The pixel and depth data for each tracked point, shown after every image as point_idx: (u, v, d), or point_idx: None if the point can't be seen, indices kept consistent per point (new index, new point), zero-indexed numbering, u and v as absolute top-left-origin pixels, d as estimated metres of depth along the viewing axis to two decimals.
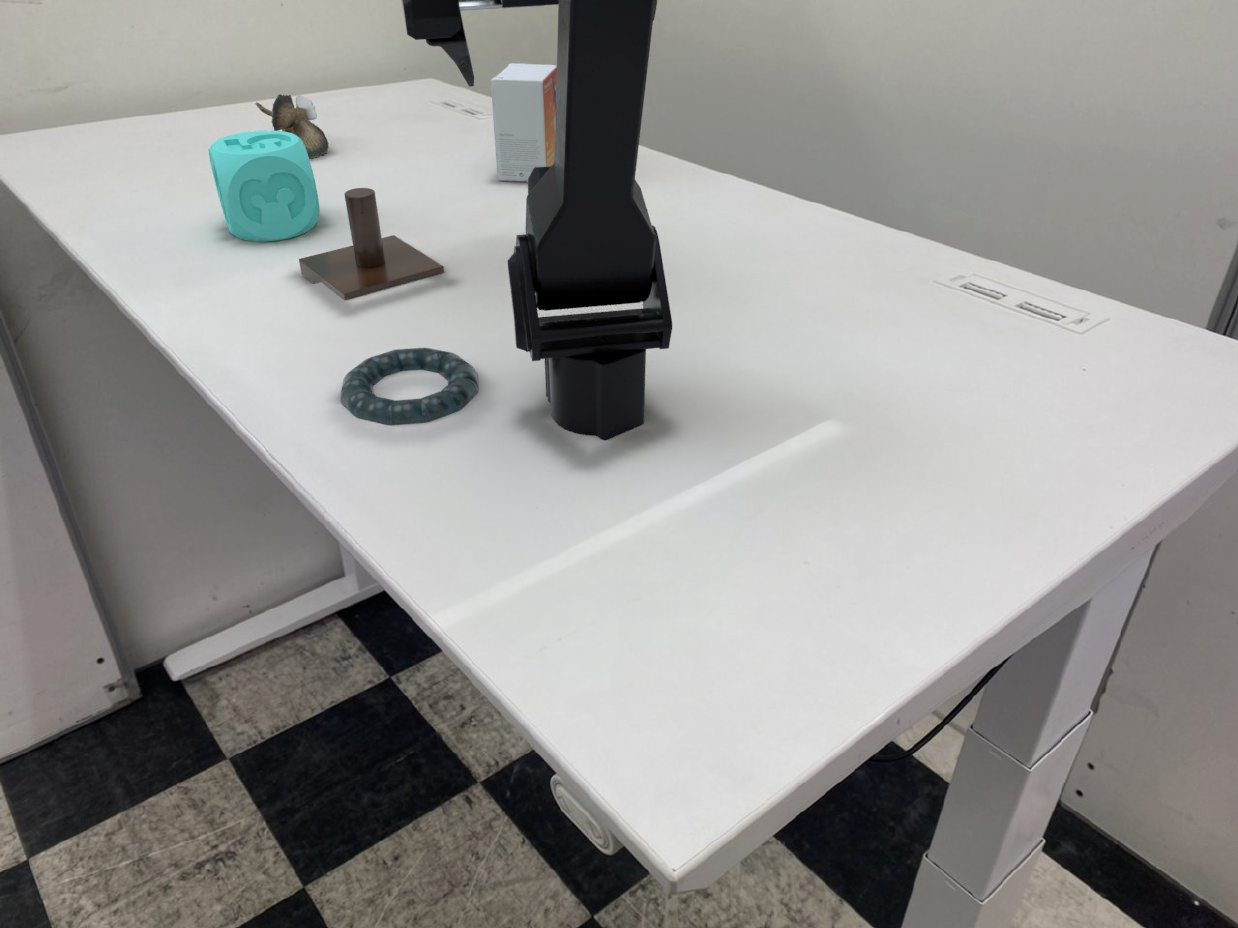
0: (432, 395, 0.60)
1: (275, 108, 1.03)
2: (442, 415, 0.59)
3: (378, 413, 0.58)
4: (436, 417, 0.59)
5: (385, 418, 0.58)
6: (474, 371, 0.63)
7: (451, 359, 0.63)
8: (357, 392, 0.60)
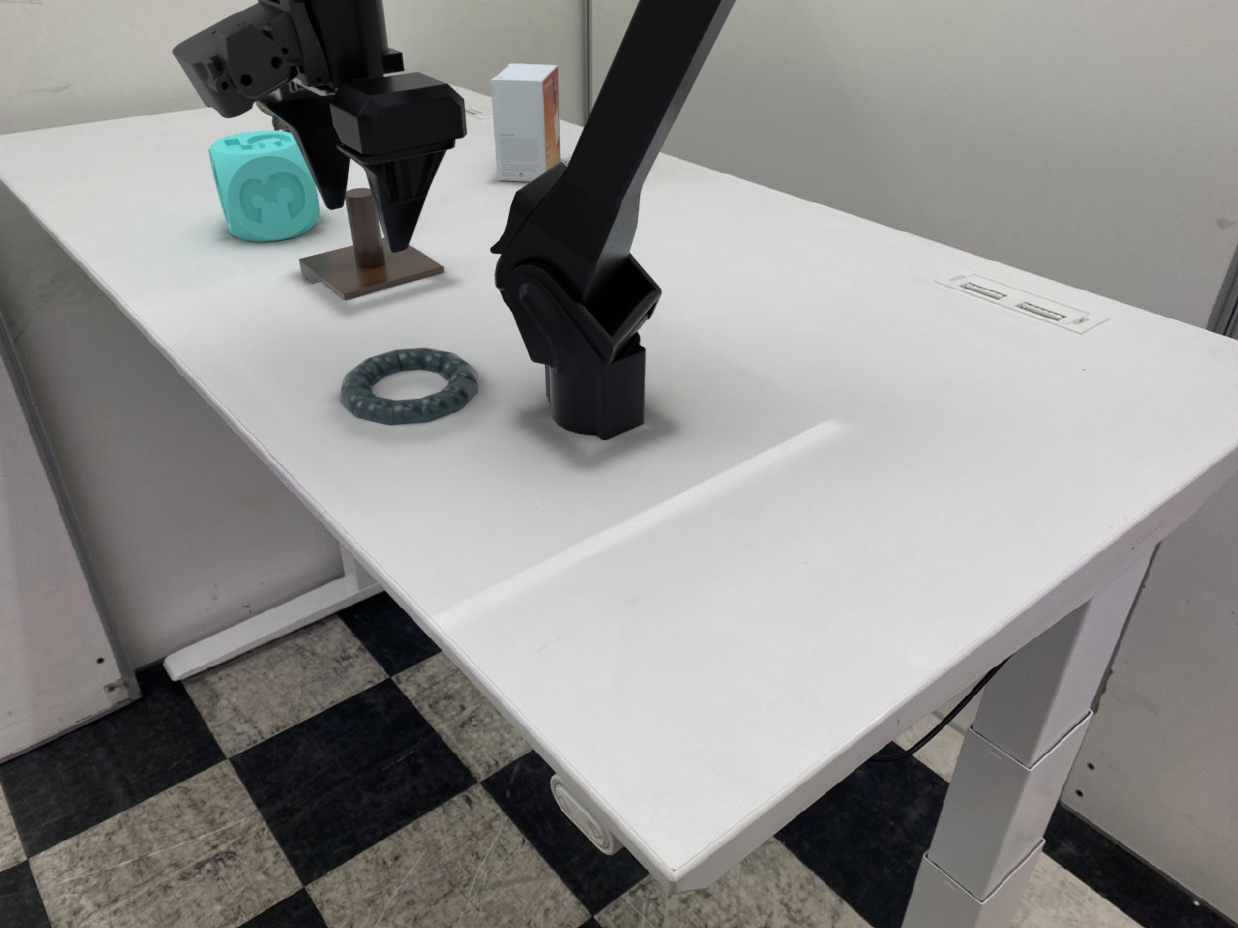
0: (432, 395, 0.60)
1: None
2: (442, 415, 0.59)
3: (378, 413, 0.58)
4: (436, 417, 0.59)
5: (385, 418, 0.58)
6: (474, 371, 0.63)
7: (451, 359, 0.63)
8: (357, 392, 0.60)
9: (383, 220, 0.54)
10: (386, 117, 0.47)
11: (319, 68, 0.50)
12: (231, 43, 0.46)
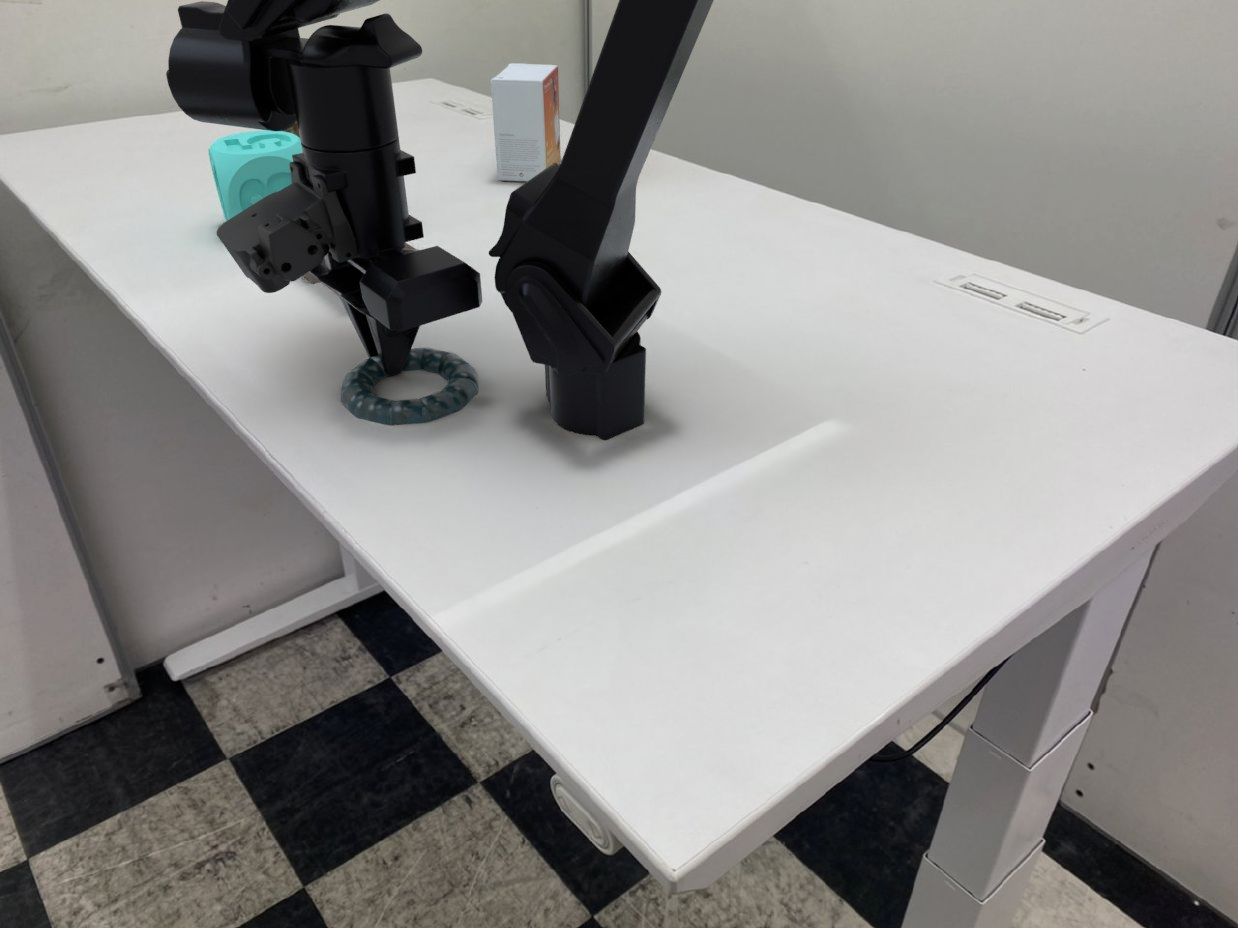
0: (432, 395, 0.60)
1: None
2: (442, 415, 0.59)
3: (378, 413, 0.58)
4: (436, 417, 0.59)
5: (385, 418, 0.58)
6: (474, 371, 0.63)
7: (451, 359, 0.63)
8: (357, 392, 0.60)
9: (381, 351, 0.61)
10: (412, 299, 0.52)
11: (349, 245, 0.55)
12: (273, 238, 0.51)
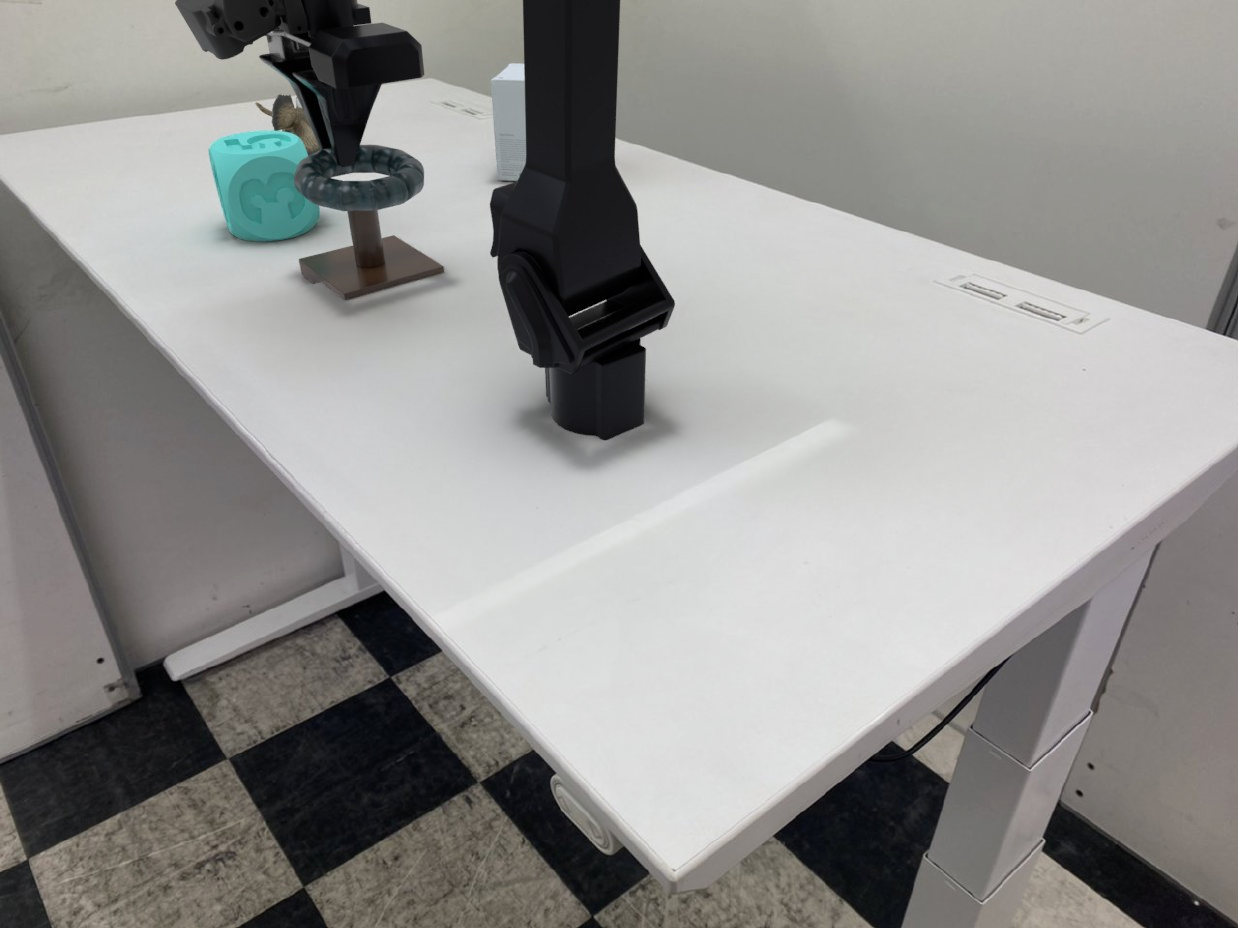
0: (380, 178, 0.64)
1: (275, 108, 1.03)
2: (389, 197, 0.64)
3: (328, 191, 0.63)
4: (383, 198, 0.64)
5: (335, 196, 0.63)
6: (421, 165, 0.67)
7: (400, 154, 0.68)
8: (309, 173, 0.64)
9: (332, 138, 0.66)
10: (356, 57, 0.57)
11: (299, 18, 0.60)
12: None
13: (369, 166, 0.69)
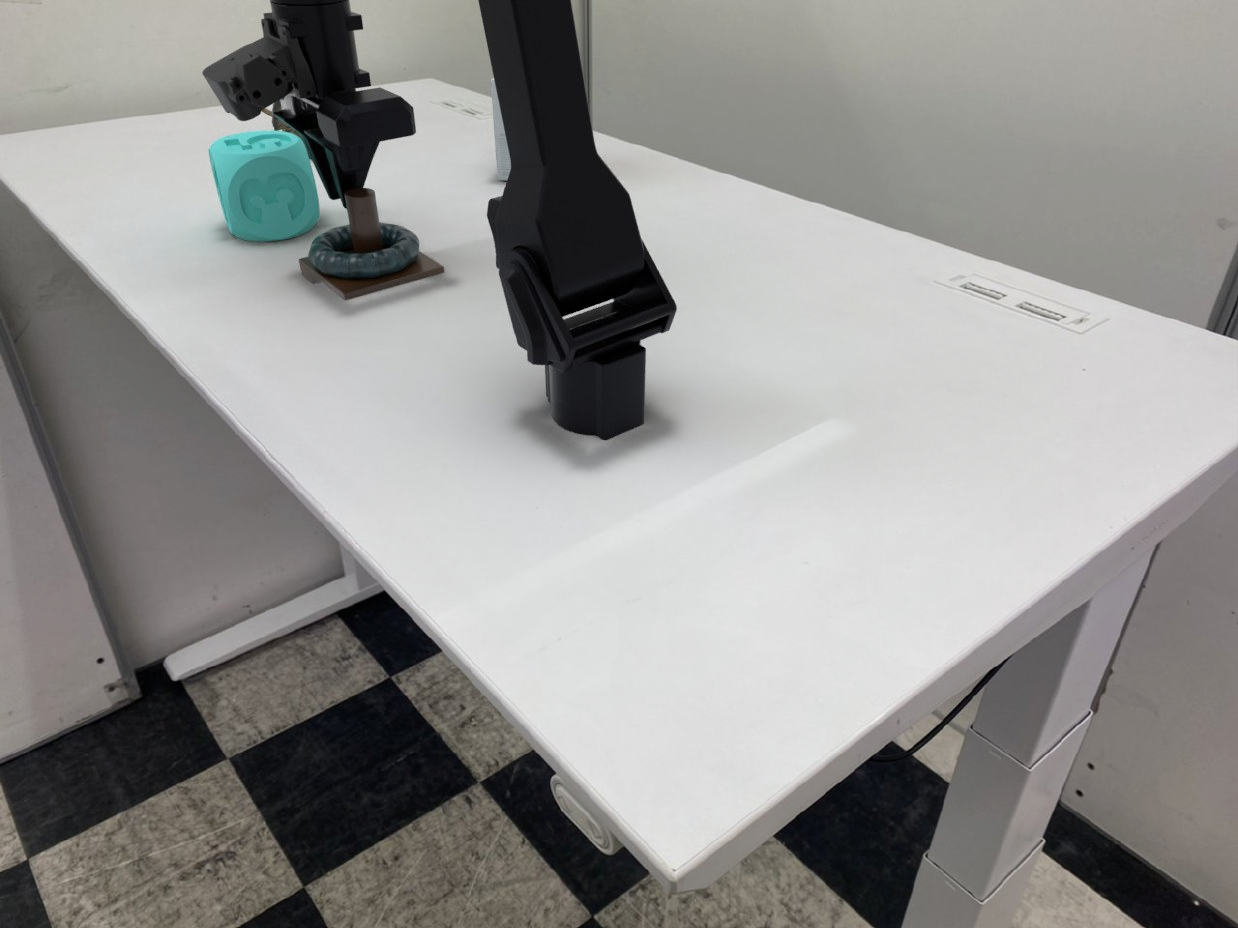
0: (380, 250, 0.75)
1: (275, 108, 1.03)
2: (388, 265, 0.75)
3: (337, 262, 0.74)
4: (383, 267, 0.75)
5: (343, 266, 0.74)
6: (416, 237, 0.79)
7: (398, 229, 0.79)
8: (321, 248, 0.76)
9: (338, 184, 0.75)
10: (356, 121, 0.66)
11: (308, 85, 0.69)
12: (246, 69, 0.65)
13: None
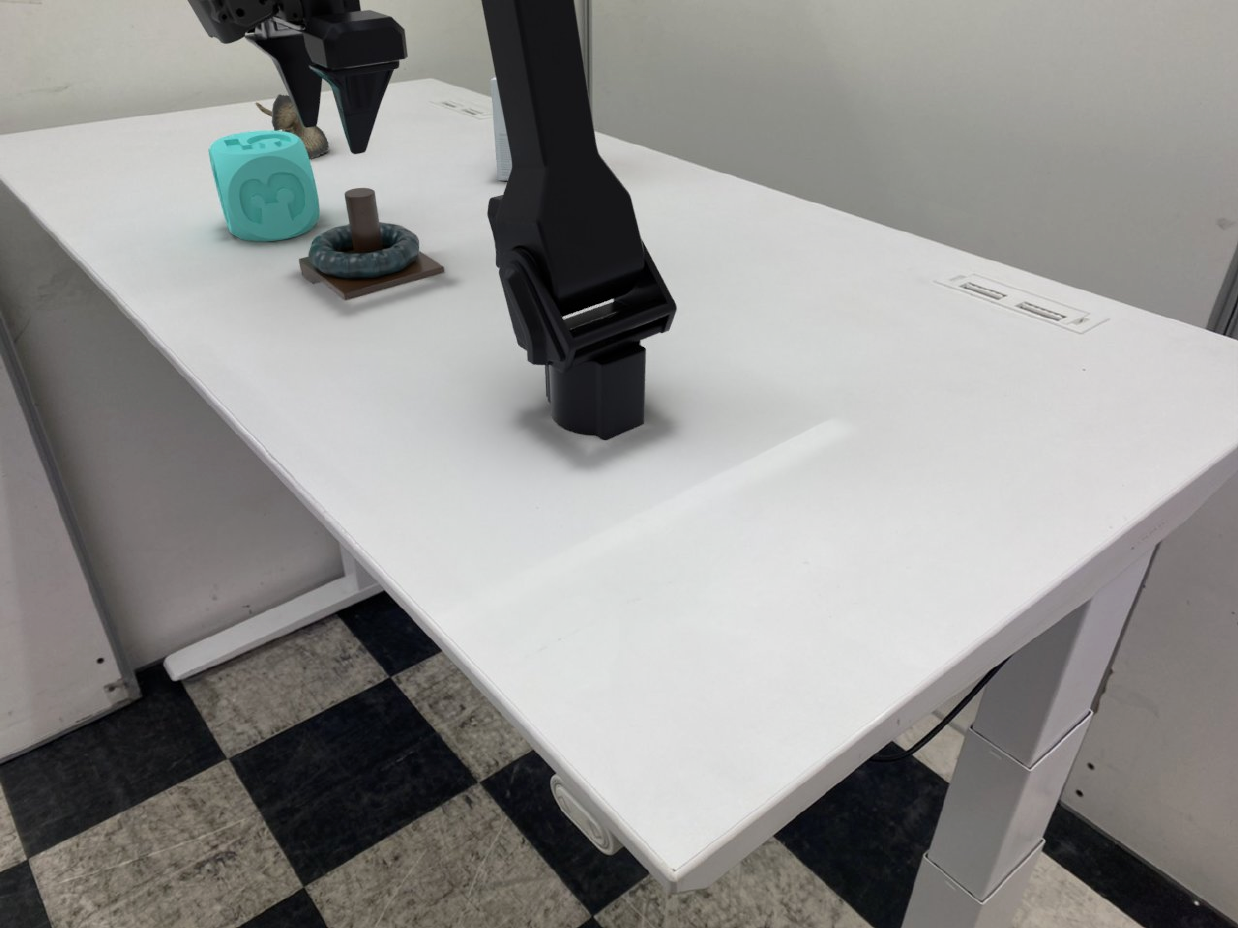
0: (380, 250, 0.75)
1: (275, 108, 1.03)
2: (388, 265, 0.75)
3: (337, 262, 0.74)
4: (383, 267, 0.75)
5: (342, 266, 0.74)
6: (416, 237, 0.79)
7: (398, 229, 0.79)
8: (321, 248, 0.76)
9: (346, 126, 0.70)
10: (344, 40, 0.63)
11: (295, 6, 0.66)
12: None
13: None
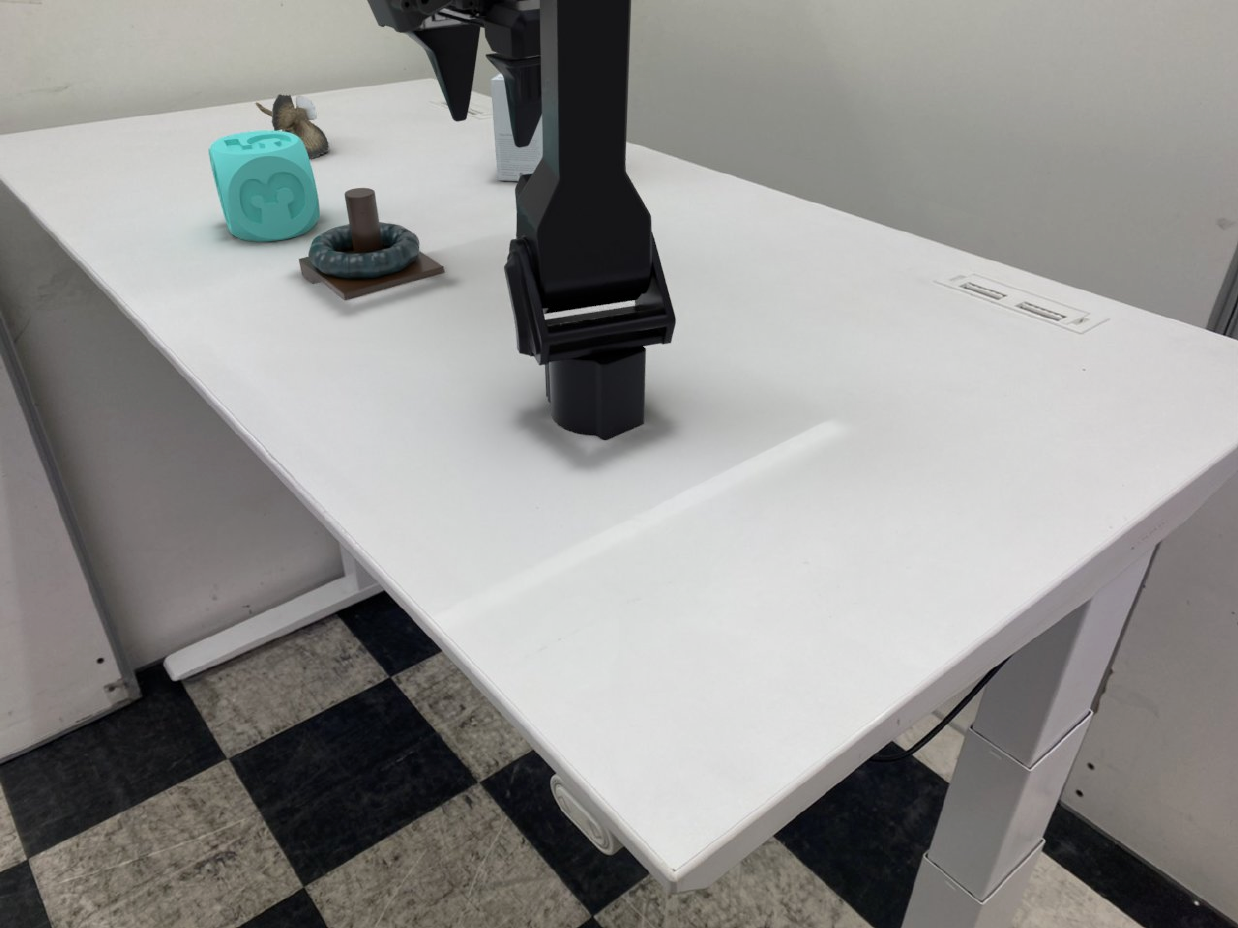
0: (380, 250, 0.75)
1: (275, 108, 1.03)
2: (388, 265, 0.75)
3: (337, 262, 0.74)
4: (383, 267, 0.75)
5: (342, 266, 0.74)
6: (416, 237, 0.79)
7: (398, 229, 0.79)
8: (321, 248, 0.76)
9: (514, 119, 0.68)
10: (532, 28, 0.61)
11: None
12: None
13: None
